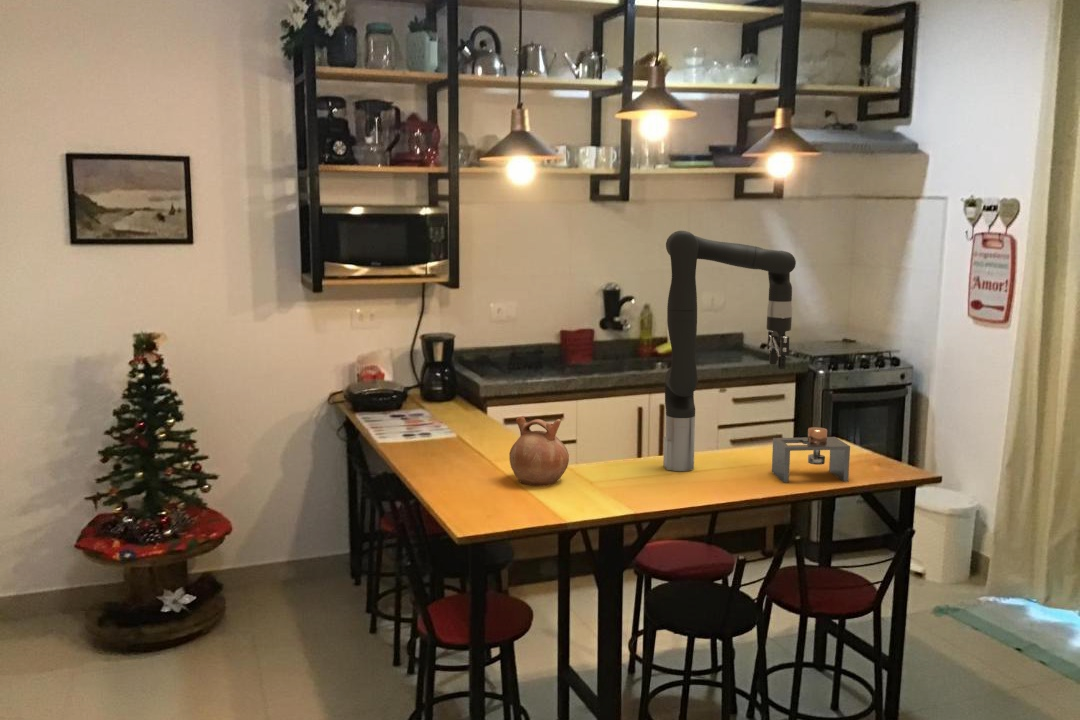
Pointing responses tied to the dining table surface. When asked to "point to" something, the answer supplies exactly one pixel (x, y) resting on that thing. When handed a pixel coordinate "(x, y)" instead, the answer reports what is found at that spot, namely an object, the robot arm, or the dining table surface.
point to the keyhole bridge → (836, 447)
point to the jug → (538, 454)
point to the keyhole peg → (817, 437)
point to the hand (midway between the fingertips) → (777, 366)
